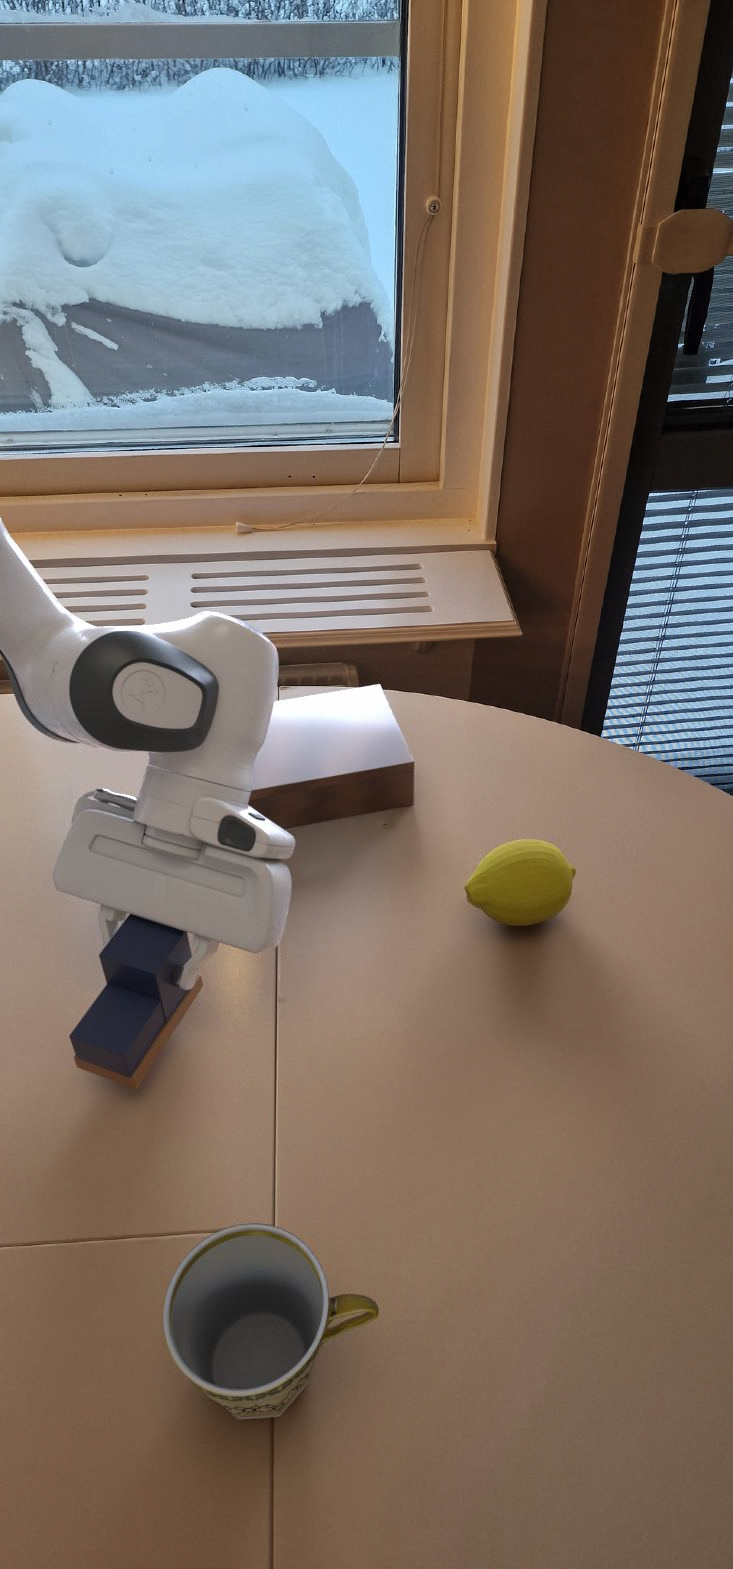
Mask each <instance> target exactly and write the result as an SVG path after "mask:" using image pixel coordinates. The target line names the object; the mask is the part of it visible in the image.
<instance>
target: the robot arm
mask: <svg viewBox="0 0 733 1569" xmlns="http://www.w3.org/2000/svg"><path fill="white" fill-rule="evenodd" d="M0 658H1V660H2V662H3V664H4V667H5V669H6V672H7V675H8V678H9V679H8V680H9V682H10V685H11V688H12V692H13V694H14V697H15V700H16V703H17V705H18V708H19V709H20V711H21V713H22V714H23V716H24V717H25V719H26V720H27V721H28V722H29V724H31V725H32V726H33V728H34V729H36V730H37V731H38V732H40V733H41V734H43V735H44V736H46V737H48V738H49V739H52V740H55V741H59V742H60V743H61V742H62V743H67V744H82V745H85V746H88V747H89V746H90V747H92V748H96V749H97V748H99V749H102V750H106V751H111V752H116V753H133V752H146V753H147V761H146V765H145V769H144V773H143V778H142V781H141V783H140V788H139V792H138V795H137V797H135V796H132V795H129V794H124V793H117V792H114V791H112V790H111V789H107V788H103V787H98V788H95V789H94V790H90V791H88V792H86V793H84V794H82V796H80V797H79V798H78V799H77V801H76V803H75V806H74V810H73V813H72V817H71V825H70V828H69V829H68V832H67V833H66V835H65V838H64V841H63V843H62V845H61V847H60V850H59V852H58V856H57V858H56V861H55V864H54V866H53V870H52V876H51V877H52V881H53V883H54V887H55V890H56V891H58V892H60V893H64V894H67V895H69V896H72V897H77V898H80V899H82V900H85V901H89V902H91V903H95V904H98V905H100V908H99V912H98V915H97V920H98V924H99V928H100V933H101V937H102V941H103V946H102V949H101V951H102V950H103V949H104V948H105V946H106V945H107V944H108V942H109V941H110V940H111V938H112V937H113V936H114V934H115V933H116V932H117V930H118V929H119V928H120V926H121V925H120V922H124V921H125V920H126V918H127V914H132V915H135V916H138V917H142V918H145V919H148V920H151V921H154V922H157V923H160V924H163V925H167V926H170V927H173V928H176V929H179V930H182V931H185V932H187V934H192V935H193V940H192V942H191V948H192V949H193V950H196V951H195V952H194V953H193V954H192V957H191V958H190V959H189V960H188V961H187V962H186V963H180V964H174V968H173V972H172V975H173V976H172V977H171V979H170V985H172V986H175V987H178V988H181V989H183V990H189V989H192V988H193V986H194V984H195V980H196V977H197V974H199V969H200V968H202V967H203V966H204V965H205V964H206V963H207V962H208V961H209V960H210V959H211V958H212V957H213V956H214V955H215V954H216V953H217V952H218V949H219V944H223V945H225V946H226V945H227V946H230V947H232V948H236V949H238V950H241V951H245V952H249V953H251V954H257V955H258V954H259V955H260V954H265V953H269V952H271V951H272V950H274V949H275V948H277V947H278V946H279V945H280V944H281V942H282V940H283V937H284V934H285V930H286V925H287V922H288V921H287V920H288V916H289V911H290V903H291V896H292V888H293V887H292V886H293V884H292V883H293V882H292V875H291V872H290V869H289V868H288V866H287V864H285V863H284V862H283V861H282V860H288V859H289V858H291V857H292V856H293V853H294V850H295V847H296V839H295V837H294V836H293V835H292V834H291V833H289V832H288V831H286V829H285V828H284V829H282V828H281V827H279V826H278V825H276V824H275V823H273V822H272V821H270V820H269V819H267V818H266V817H264V816H263V815H261V814H260V813H258V812H257V811H256V810H254V809H253V808H251V807H250V806H249V805H248V802H249V798H250V794H251V792H249V791H252V783H253V782H252V771H253V765H254V761H255V758H256V756H257V754H258V752H259V750H260V749H261V747H262V745H263V744H264V741H265V738H266V734H267V731H268V727H269V723H270V719H271V715H272V710H273V705H274V701H276V700H275V699H276V695H277V688H278V681H279V670H280V669H279V668H280V665H279V664H280V660H279V654H278V650H277V648H276V646H275V645H274V644H273V643H272V641H271V640H270V638H269V637H268V636H267V635H266V634H264V633H263V632H262V631H260V630H259V629H257V628H256V627H255V626H252V625H251V624H249V623H247V622H245V621H243V620H241V619H239V618H235V617H232V616H230V615H229V614H225V613H222V612H217V611H209V610H204V611H200V612H198V613H196V614H195V615H193V616H190V617H186V618H184V619H179V620H175V621H169V622H163V623H156V624H146V625H120V626H119V625H107V626H104V625H103V626H96V625H93V624H90V623H89V622H86V621H84V620H82V619H81V618H79V617H77V616H76V615H74V614H72V613H71V612H70V611H69V610H67V609H66V608H65V607H64V605H62V604H61V602H60V601H59V600H58V599H57V597H56V596H55V595H54V593H53V592H52V590H51V589H50V588H49V587H48V584H47V583H46V582H45V581H44V579H43V578H42V577H41V576H40V574H39V573H38V571H37V570H36V569H35V568H34V566H33V565H32V564H31V562H30V560H29V559H28V558H27V557H26V555H25V554H24V553H23V551H22V550H21V549H20V547H19V546H18V544H17V543H16V542H15V540H14V539H13V537H12V536H11V535H10V533H9V531H8V530H7V528H6V526H5V524H4V522H3V520H2V518H1V516H0ZM246 790H247V791H246ZM91 797H93V798H91Z"/></svg>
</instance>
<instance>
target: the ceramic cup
mask: <svg viewBox="0 0 733 1569" xmlns="http://www.w3.org/2000/svg"><path fill="white" fill-rule="evenodd" d="M329 1295H330V1294H329V1286H328V1282H327V1277H326V1275H325V1272H324V1269H323V1267H322V1265H321V1263H320V1260H319V1259H318V1257H317V1256H316V1255H315V1253H314V1252H313V1251H312V1249H311V1248H310V1247H309V1246H308V1245H307V1244H306V1243H305V1242H304V1241H303V1240H302V1239H300V1238H299V1237H298V1236H297V1235H295V1234H293V1233H292V1232H290V1231H288V1230H286V1229H284V1228H281V1227H278V1226H277V1225H276V1226H275V1225H271V1224H267V1223H259V1222H257V1223H255V1222H254V1223H253V1222H252V1223H251V1222H249V1223H241V1224H240V1223H239V1224H236V1225H231V1226H228V1227H225V1228H222V1229H220V1230H218V1231H216V1232H214V1233H212V1234H211V1235H209V1236H207V1237H205V1238H204V1239H203V1240H201V1241H200V1242H198V1243H197V1244H196V1245H195V1246H193V1248H191V1249H190V1251H189V1252H187V1254H185V1256H184V1258H183V1259H182V1260H181V1262H180V1263H179V1264H178V1266H177V1267H176V1269H175V1270H174V1272H173V1274H172V1277H171V1278H170V1280H169V1283H168V1286H167V1288H166V1292H165V1296H164V1300H163V1306H162V1330H163V1335H164V1341H165V1343H166V1346H167V1350H168V1352H169V1354H170V1355H171V1358H172V1360H173V1361H174V1363H175V1365H176V1366H177V1367H178V1368H179V1370H180V1371H181V1372H182V1374H183V1375H184V1376H185V1377H186V1378H187V1379H188V1380H189V1381H190V1382H191V1383H192V1384H193V1385H194V1386H195V1387H196V1388H197V1389H199V1390H200V1391H201V1392H202V1393H204V1394H205V1395H206V1396H207V1397H208V1398H210V1399H211V1400H213V1401H214V1402H216V1403H218V1404H220V1405H221V1406H222V1407H223V1408H225V1410H226V1411H228V1412H229V1413H230V1414H231V1415H232V1416H233V1417H234V1418H235V1419H236V1420H250V1419H267V1418H278V1417H281V1415H283V1413H284V1412H285V1411H286V1410H287V1409H288V1408H289V1406H290V1405H292V1403H293V1402H294V1401H295V1399H296V1398H297V1397H298V1396H299V1395H300V1394H301V1392H302V1391H303V1390H304V1389H305V1387H306V1386H307V1385H308V1384H309V1382H310V1377H311V1373H312V1370H313V1368H314V1365H315V1362H316V1359H317V1357H318V1355H319V1350H320V1349H321V1347H322V1346H323V1345H324V1344H325V1343H326V1342H327V1341H329V1340H332V1339H335V1338H337V1337H339V1336H341V1335H343V1334H345V1333H347V1332H349V1331H353V1330H354V1329H355V1330H356V1329H357V1328H360V1327H363V1326H365V1325H369V1324H370V1323H372V1322H374V1321H375V1320H376V1319H377V1318H378V1316H379V1313H380V1309H379V1306H378V1304H377V1302H376V1301H375V1299H373V1298H371V1297H369V1296H366V1295H363V1294H356V1293H342V1294H337V1295H334V1296H331V1297H330V1296H329ZM361 1313H362V1314H361ZM355 1314H359V1315H356V1316H353V1315H355ZM351 1315H352V1317H350V1318H348V1319H346V1320H342V1321H341V1322H339V1323H337V1324H336V1325H334V1326H331V1327H329V1326H330V1324H331V1323H332V1322H333V1321H334V1320H336V1319H338V1318H342V1317H348V1316H351Z"/></svg>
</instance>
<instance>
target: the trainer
mask: <svg viewBox="0 0 733 1569" xmlns="http://www.w3.org/2000/svg"><path fill="white" fill-rule="evenodd" d="M128 914H129V913H128ZM119 926H120V928H119V929H118V930H117V932H116V933H115V934H114V936H113V937H112V938H111V940H110V941H109V942H108V944H107V945H106V946H105V948H104V949H103V948H102V949H103V950H102V949H101V951H100V953H99V954H98V958H99V962H100V964H101V967H102V971H103V975H104V978H105V982H106V985H105V986H104V987H103V988H102V990H101V992H100V993H99V994H98V996H97V997H96V998H95V999H94V1001H93V1003H92V1004H91V1005H90V1006H89V1008H88V1009H87V1010H86V1012H85V1014H83V1016H82V1017H81V1019H80V1020H79V1021H78V1023H77V1025H76V1026H75V1027H74V1029H73V1030H72V1031H71V1032H70V1034H69V1036H68V1037H69V1040H70V1043H71V1046H72V1048H73V1052H74V1056H73V1060H74V1063H75V1065H76V1068H78V1069H81V1070H83V1071H85V1072H88V1073H91V1074H94V1075H96V1076H100V1077H102V1078H105V1079H107V1080H109V1081H113V1082H116V1083H118V1084H120V1085H123V1086H126V1087H129V1088H131V1089H134V1090H137V1089H138V1088H139V1087H140V1085H141V1083H142V1082H143V1080H144V1079H145V1078H146V1076H147V1074H148V1073H149V1071H150V1069H151V1068H152V1066H153V1065H154V1064H155V1061H156V1060H157V1059H158V1056H160V1054H161V1052H163V1049H164V1047H165V1046H166V1045H167V1043H168V1042H169V1040H170V1038H171V1037H172V1035H173V1033H174V1032H175V1031H176V1029H177V1027H179V1024H180V1022H181V1021H182V1019H183V1018H184V1016H185V1015H186V1013H187V1012H188V1010H189V1009H190V1007H191V1005H192V1004H193V1002H194V1001H195V999H197V998H196V997H198V995H199V993H200V991H201V990H202V989H203V987H204V982H203V976H202V974H200V973H197V977H196V980H195V984H194V986H193V988H192V989H189V990H183V989H181V988H178V987H175V986H172V985H170V979H171V977H172V976H173V975H172V972H173V968H174V964H180V963H186V962H187V961H188V960H189V959H190V958H191V957H192V956H193V954H192V949H191V945H190V939H189V933H188V932H185V931H182V930H179V929H176V928H173V927H170V926H167V925H163V924H160V923H157V922H154V921H151V920H148V919H145V918H142V917H138V916H135V915H132V914H129V915H127V916H126V918H125V920H124V921H122V924H121V925H119Z"/></svg>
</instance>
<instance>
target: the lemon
mask: <svg viewBox="0 0 733 1569" xmlns="http://www.w3.org/2000/svg"><path fill="white" fill-rule="evenodd" d="M576 874H577V869H576V867H575V866H574V865H573V864H570V863H569V861H568V860H567V858H566V856H565V854H564V853H563V851H561V850H560V848H558V847H557V846H556V845H554V844H552V843H551V842H547V841H545V840H541V839H535V838H534V839H533V838H525V839H523V838H521V839H517V840H512V841H508V842H506V843H503V844H501V845H499V846H497V847H496V848H493V849H492V850H491V851H490V852H488V853H487V854H486V855H485V856H484V858H482V859H481V861H480V862H479V863H478V864H477V866H476V867H475V870H474V871H473V873H472V874H471V875H470V877H469V878H468V880H467V881H466V882H465V884H464V887H463V888H464V890H465V894H466V899H467V902H468V903H469V904H471V905H472V906H473V907H474V908H476V909H480V910H481V911H482V912H483V913H484V914H485V915H486V916H487V917H488V918H490V919H492V920H494V921H495V922H498V923H500V924H503V925H507V926H514V927H515V926H516V927H517V926H519V927H522V926H532V925H537V924H539V923H544V922H546V921H548V920H550V919H552V918H553V917H555V916H557V915H558V914H559V913H561V911H563V909H565V907H566V906H567V905H568V903H569V901H570V898H571V896H572V892H573V891H572V890H573V882H574V878H575V877H576Z"/></svg>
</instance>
